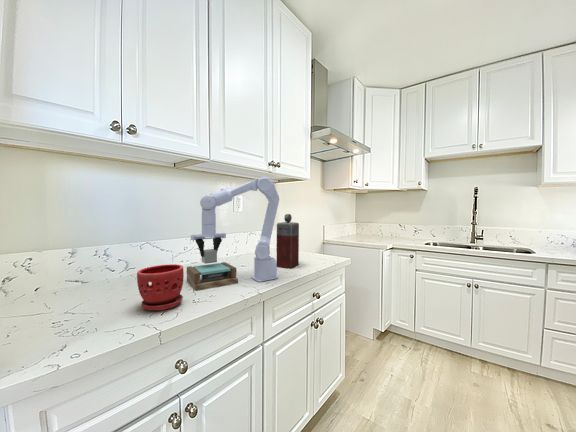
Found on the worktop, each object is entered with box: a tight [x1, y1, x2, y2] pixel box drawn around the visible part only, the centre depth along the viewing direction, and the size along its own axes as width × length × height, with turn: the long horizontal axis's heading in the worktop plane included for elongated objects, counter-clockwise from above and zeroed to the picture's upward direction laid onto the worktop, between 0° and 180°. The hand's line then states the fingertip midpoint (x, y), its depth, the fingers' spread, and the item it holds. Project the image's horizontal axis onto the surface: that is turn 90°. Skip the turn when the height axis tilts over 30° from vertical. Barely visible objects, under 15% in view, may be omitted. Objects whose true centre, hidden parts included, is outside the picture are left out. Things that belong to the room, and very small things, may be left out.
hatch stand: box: [186, 261, 239, 291], centre depth 103 cm, size 17×15×6 cm
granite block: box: [201, 248, 218, 265], centre depth 105 cm, size 5×5×5 cm
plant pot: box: [136, 263, 185, 312], centre depth 78 cm, size 13×13×12 cm
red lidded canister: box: [276, 213, 300, 270], centre depth 132 cm, size 9×11×28 cm
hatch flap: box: [192, 262, 230, 281], centre depth 103 cm, size 12×12×3 cm
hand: (208, 255), depth 106 cm, fingers closed on granite block, 5 cm apart
